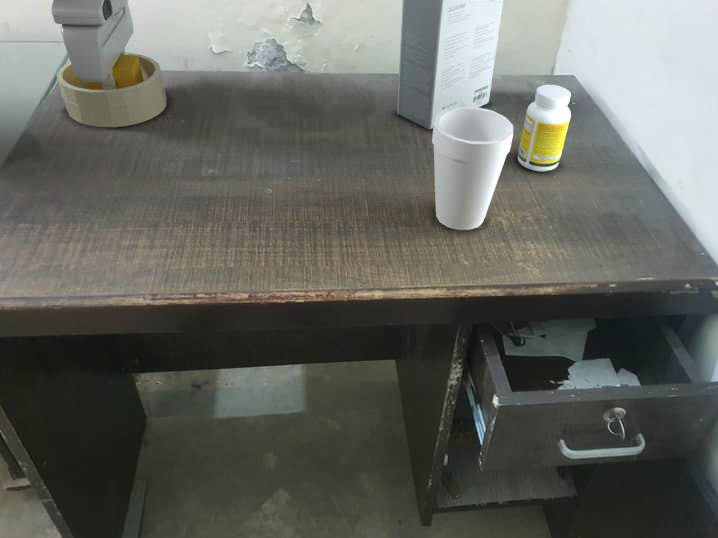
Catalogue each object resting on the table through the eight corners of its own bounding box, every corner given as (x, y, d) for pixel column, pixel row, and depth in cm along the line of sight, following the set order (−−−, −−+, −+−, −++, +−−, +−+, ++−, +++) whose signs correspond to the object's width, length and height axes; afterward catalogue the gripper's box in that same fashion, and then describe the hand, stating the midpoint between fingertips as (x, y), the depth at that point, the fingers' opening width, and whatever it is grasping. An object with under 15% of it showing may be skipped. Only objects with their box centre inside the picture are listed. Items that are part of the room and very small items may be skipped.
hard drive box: (455, 88, 112) (471, -34, 99) (489, 104, 108) (510, -22, 95) (394, 114, 103) (402, -17, 90) (428, 131, 100) (442, -3, 86)
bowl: (54, 126, 94) (43, 90, 90) (82, 84, 104) (73, 51, 101) (157, 128, 95) (149, 93, 91) (174, 86, 106) (168, 53, 102)
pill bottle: (565, 163, 95) (585, 92, 88) (543, 177, 91) (561, 105, 84) (531, 147, 98) (547, 78, 90) (508, 161, 94) (522, 90, 87)
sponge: (93, 104, 98) (82, 66, 94) (101, 91, 101) (91, 54, 97) (140, 105, 99) (131, 67, 95) (146, 92, 102) (138, 55, 98)
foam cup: (414, 200, 85) (423, 109, 76) (477, 192, 87) (492, 103, 79) (439, 242, 78) (452, 148, 70) (507, 232, 81) (527, 140, 72)
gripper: (88, -32, 97) (111, 58, 106) (46, 15, 82) (77, 115, 91) (131, -30, 97) (150, 59, 107) (97, 16, 82) (123, 115, 92)
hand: (116, 85), depth 99 cm, fingers closed on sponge, 4 cm apart
